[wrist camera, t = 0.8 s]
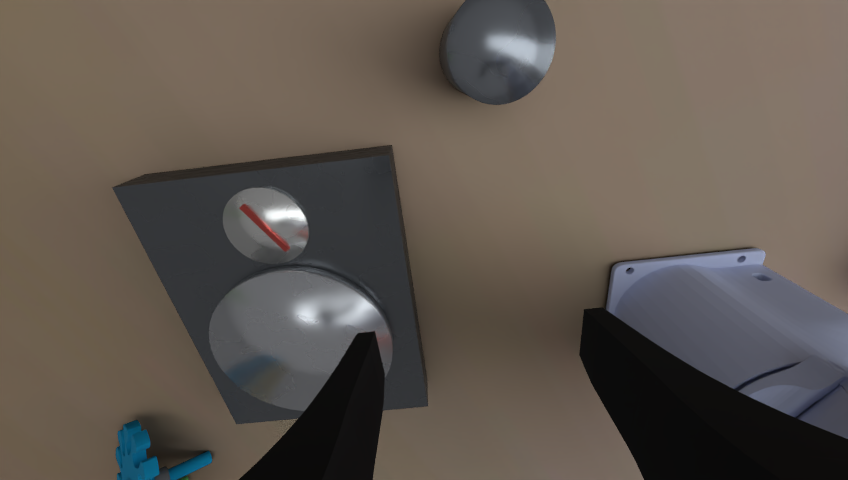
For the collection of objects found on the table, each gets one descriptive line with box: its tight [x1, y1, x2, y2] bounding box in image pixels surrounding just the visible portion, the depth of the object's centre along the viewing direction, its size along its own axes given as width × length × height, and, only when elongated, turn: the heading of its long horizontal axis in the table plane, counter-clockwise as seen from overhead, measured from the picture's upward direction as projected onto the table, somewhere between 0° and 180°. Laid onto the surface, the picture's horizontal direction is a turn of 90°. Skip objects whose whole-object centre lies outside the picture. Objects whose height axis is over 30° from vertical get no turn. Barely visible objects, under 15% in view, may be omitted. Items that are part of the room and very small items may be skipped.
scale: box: [112, 145, 428, 424], centre depth 22 cm, size 14×18×3 cm
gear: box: [116, 420, 212, 480], centre depth 29 cm, size 11×6×10 cm
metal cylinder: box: [439, 0, 556, 105], centre depth 15 cm, size 4×4×5 cm
